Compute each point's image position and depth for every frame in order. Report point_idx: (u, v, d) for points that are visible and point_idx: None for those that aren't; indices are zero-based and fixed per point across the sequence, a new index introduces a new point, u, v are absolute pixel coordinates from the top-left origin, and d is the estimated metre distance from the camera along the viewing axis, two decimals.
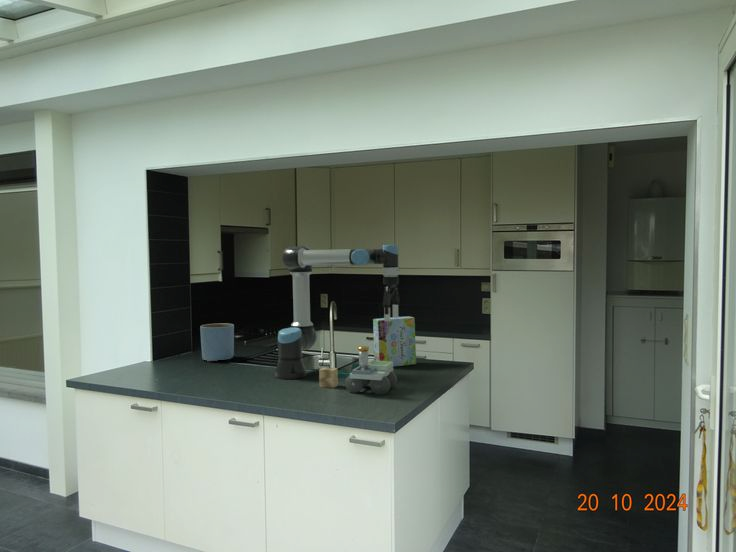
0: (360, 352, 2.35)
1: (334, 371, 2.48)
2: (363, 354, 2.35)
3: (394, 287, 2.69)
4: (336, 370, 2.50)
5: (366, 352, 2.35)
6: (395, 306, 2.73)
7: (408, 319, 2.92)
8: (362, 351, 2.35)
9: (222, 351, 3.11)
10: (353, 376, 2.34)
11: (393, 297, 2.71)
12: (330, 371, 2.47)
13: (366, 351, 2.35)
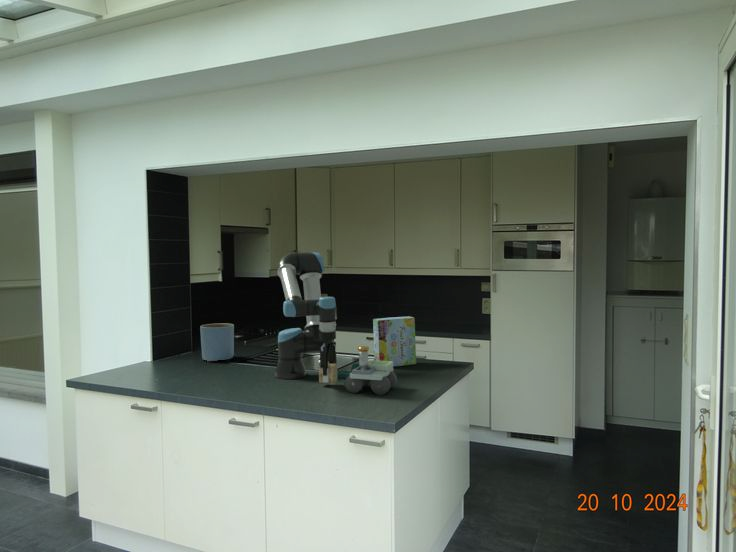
0: (360, 352, 2.35)
1: (334, 367, 2.48)
2: (363, 354, 2.35)
3: (331, 341, 2.52)
4: (336, 366, 2.51)
5: (366, 352, 2.35)
6: None
7: (408, 319, 2.92)
8: (362, 351, 2.35)
9: (222, 351, 3.11)
10: (353, 376, 2.34)
11: (329, 355, 2.52)
12: (330, 367, 2.48)
13: (366, 351, 2.35)
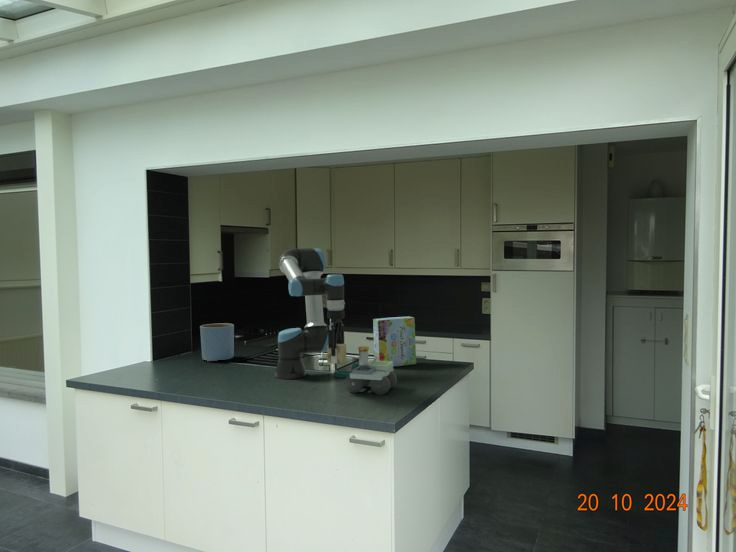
0: (360, 352, 2.35)
1: (342, 347, 2.39)
2: (363, 354, 2.35)
3: (340, 320, 2.42)
4: (344, 346, 2.41)
5: (366, 352, 2.35)
6: None
7: (408, 319, 2.92)
8: (362, 351, 2.35)
9: (222, 351, 3.11)
10: (353, 376, 2.34)
11: (337, 335, 2.42)
12: (338, 347, 2.38)
13: (366, 351, 2.35)
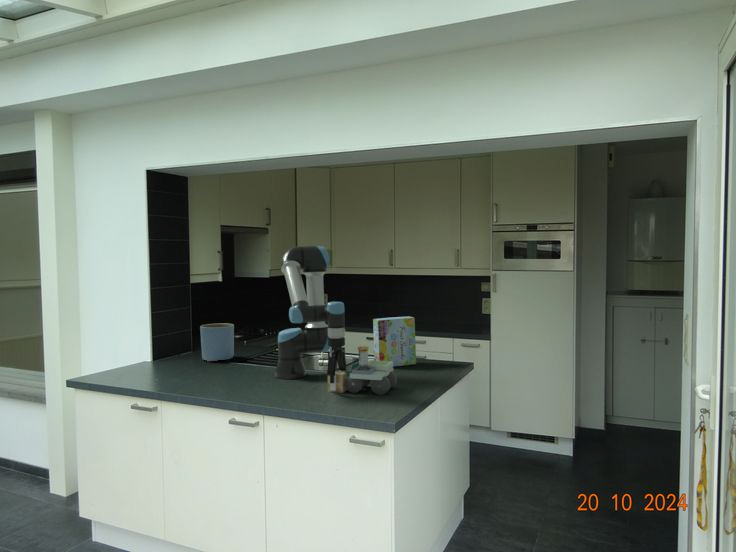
0: (360, 352, 2.35)
1: (343, 375, 2.39)
2: (363, 354, 2.35)
3: (340, 348, 2.43)
4: (345, 374, 2.41)
5: (366, 352, 2.35)
6: None
7: (408, 319, 2.92)
8: (362, 351, 2.35)
9: (222, 351, 3.11)
10: (353, 376, 2.34)
11: (339, 361, 2.44)
12: (339, 375, 2.38)
13: (366, 351, 2.35)
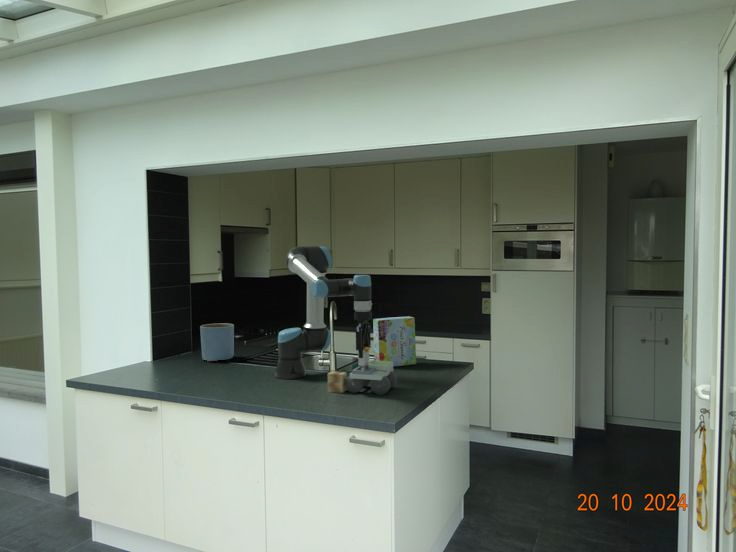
0: None
1: (343, 375, 2.39)
2: None
3: (367, 322, 2.38)
4: (345, 374, 2.41)
5: (367, 352, 2.35)
6: None
7: (408, 319, 2.92)
8: None
9: (222, 351, 3.11)
10: (353, 376, 2.34)
11: (364, 336, 2.38)
12: (339, 375, 2.38)
13: (367, 351, 2.35)
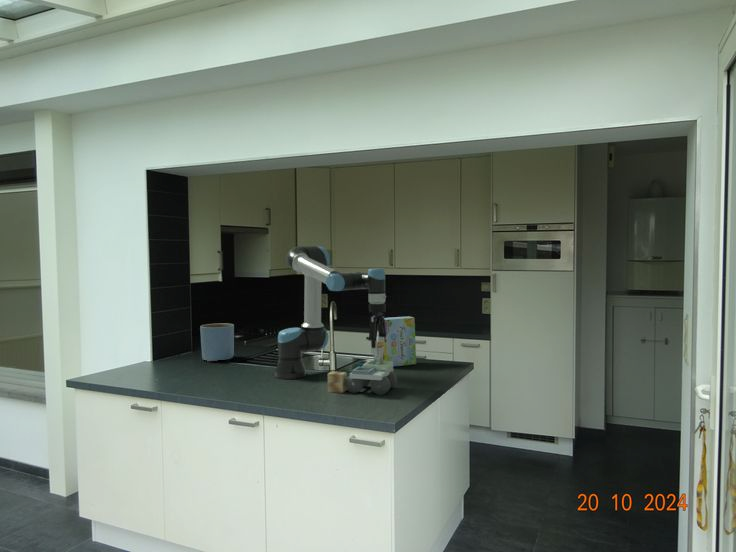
0: None
1: (343, 375, 2.39)
2: (379, 350, 2.42)
3: (381, 314, 2.45)
4: (345, 374, 2.41)
5: (381, 348, 2.42)
6: (381, 338, 2.48)
7: (408, 319, 2.92)
8: (378, 347, 2.41)
9: (222, 351, 3.11)
10: (353, 376, 2.34)
11: (379, 327, 2.46)
12: (339, 375, 2.38)
13: (381, 347, 2.42)
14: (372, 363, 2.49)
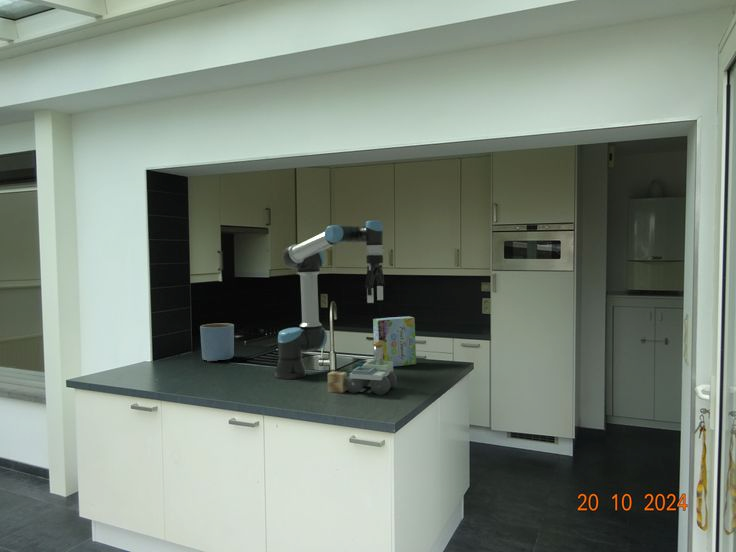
0: (375, 348, 2.42)
1: (343, 375, 2.39)
2: (378, 349, 2.42)
3: (378, 267, 2.49)
4: (345, 374, 2.41)
5: (381, 348, 2.42)
6: (380, 287, 2.54)
7: (408, 319, 2.92)
8: (377, 347, 2.42)
9: (222, 351, 3.11)
10: (353, 376, 2.34)
11: (377, 278, 2.52)
12: (339, 375, 2.38)
13: (381, 347, 2.42)
14: (372, 363, 2.49)
